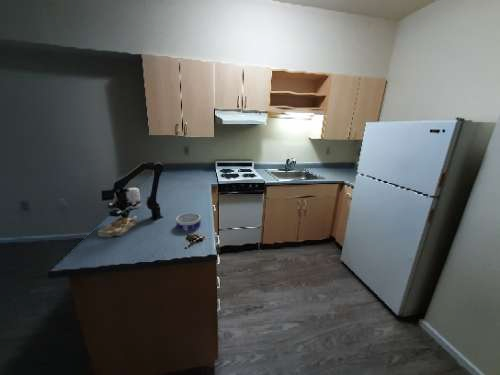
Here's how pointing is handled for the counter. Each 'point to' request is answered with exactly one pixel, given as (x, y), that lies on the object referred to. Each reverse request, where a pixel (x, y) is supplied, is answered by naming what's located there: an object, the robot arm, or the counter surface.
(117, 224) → the walnut block
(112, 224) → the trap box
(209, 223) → the counter surface
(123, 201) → the robot arm
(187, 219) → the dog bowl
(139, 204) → the supplement can
